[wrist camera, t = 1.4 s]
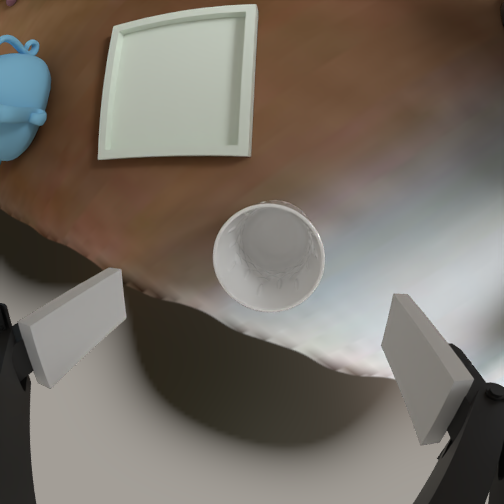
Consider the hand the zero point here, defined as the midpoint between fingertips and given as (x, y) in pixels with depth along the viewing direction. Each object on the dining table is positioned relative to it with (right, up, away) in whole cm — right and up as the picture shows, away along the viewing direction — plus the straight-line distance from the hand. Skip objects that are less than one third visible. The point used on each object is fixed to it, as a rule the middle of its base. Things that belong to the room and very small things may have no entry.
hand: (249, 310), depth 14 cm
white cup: (+3, +5, +17) cm, 18 cm away
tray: (-8, +21, +14) cm, 27 cm away
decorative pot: (-33, +24, +17) cm, 45 cm away
